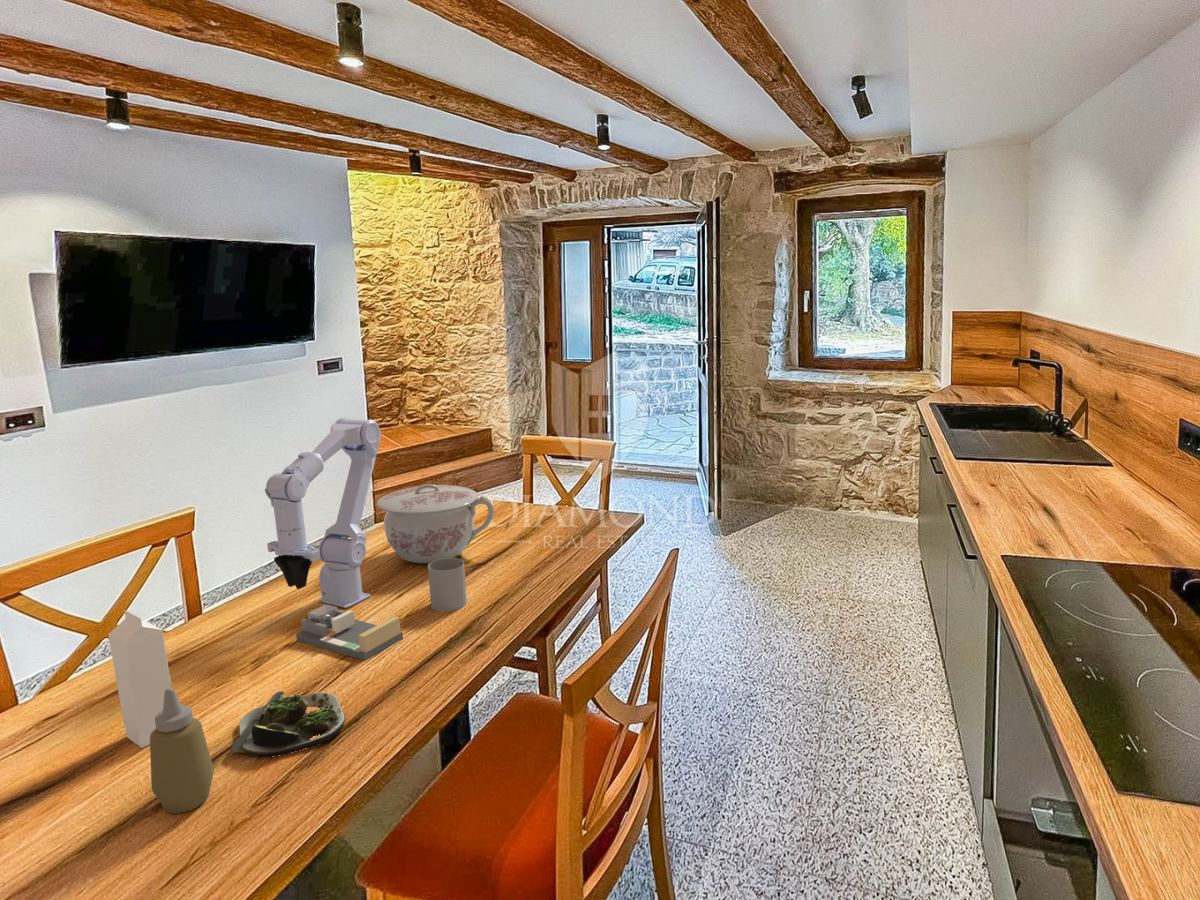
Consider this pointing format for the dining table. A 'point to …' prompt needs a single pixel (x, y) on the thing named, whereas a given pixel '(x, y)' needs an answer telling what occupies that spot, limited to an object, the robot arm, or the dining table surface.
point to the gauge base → (352, 637)
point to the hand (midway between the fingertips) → (297, 586)
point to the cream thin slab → (342, 622)
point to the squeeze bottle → (179, 757)
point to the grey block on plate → (323, 615)
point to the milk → (139, 675)
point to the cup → (447, 584)
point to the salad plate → (289, 724)
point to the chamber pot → (432, 521)
